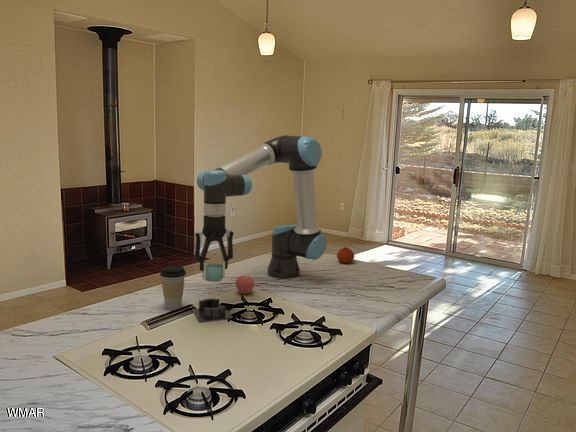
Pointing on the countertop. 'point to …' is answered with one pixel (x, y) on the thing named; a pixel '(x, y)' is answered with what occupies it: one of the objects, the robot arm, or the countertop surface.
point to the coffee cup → (173, 286)
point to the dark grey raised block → (211, 311)
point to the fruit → (345, 255)
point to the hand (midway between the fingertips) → (213, 278)
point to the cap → (213, 272)
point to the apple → (244, 284)
